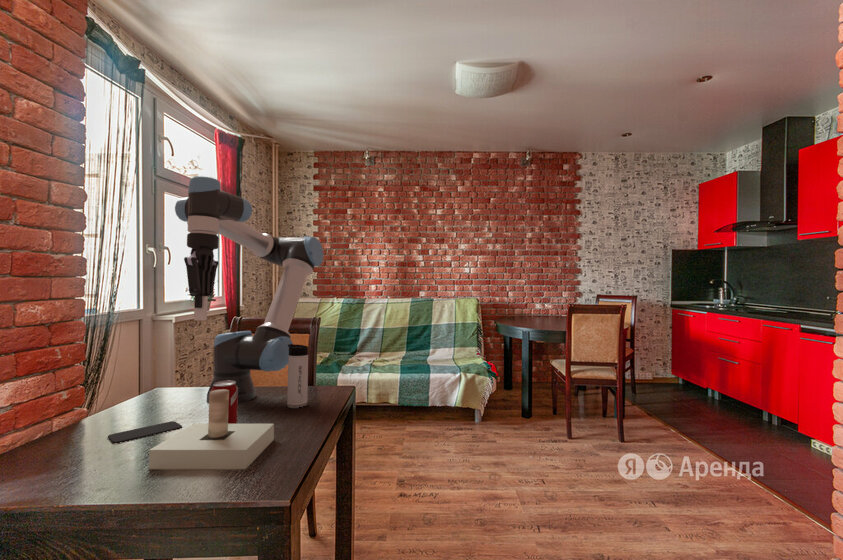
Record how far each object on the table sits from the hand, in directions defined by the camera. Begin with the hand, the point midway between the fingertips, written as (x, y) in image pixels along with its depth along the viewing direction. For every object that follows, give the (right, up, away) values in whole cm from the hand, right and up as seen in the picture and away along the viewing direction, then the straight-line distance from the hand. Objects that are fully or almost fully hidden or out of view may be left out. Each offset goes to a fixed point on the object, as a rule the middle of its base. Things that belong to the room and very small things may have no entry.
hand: (200, 320), depth 103 cm
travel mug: (+19, -31, +21) cm, 42 cm away
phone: (-12, -30, -3) cm, 32 cm away
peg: (+13, -29, -16) cm, 35 cm away
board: (+13, -29, -16) cm, 35 cm away
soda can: (+6, -30, +1) cm, 30 cm away
